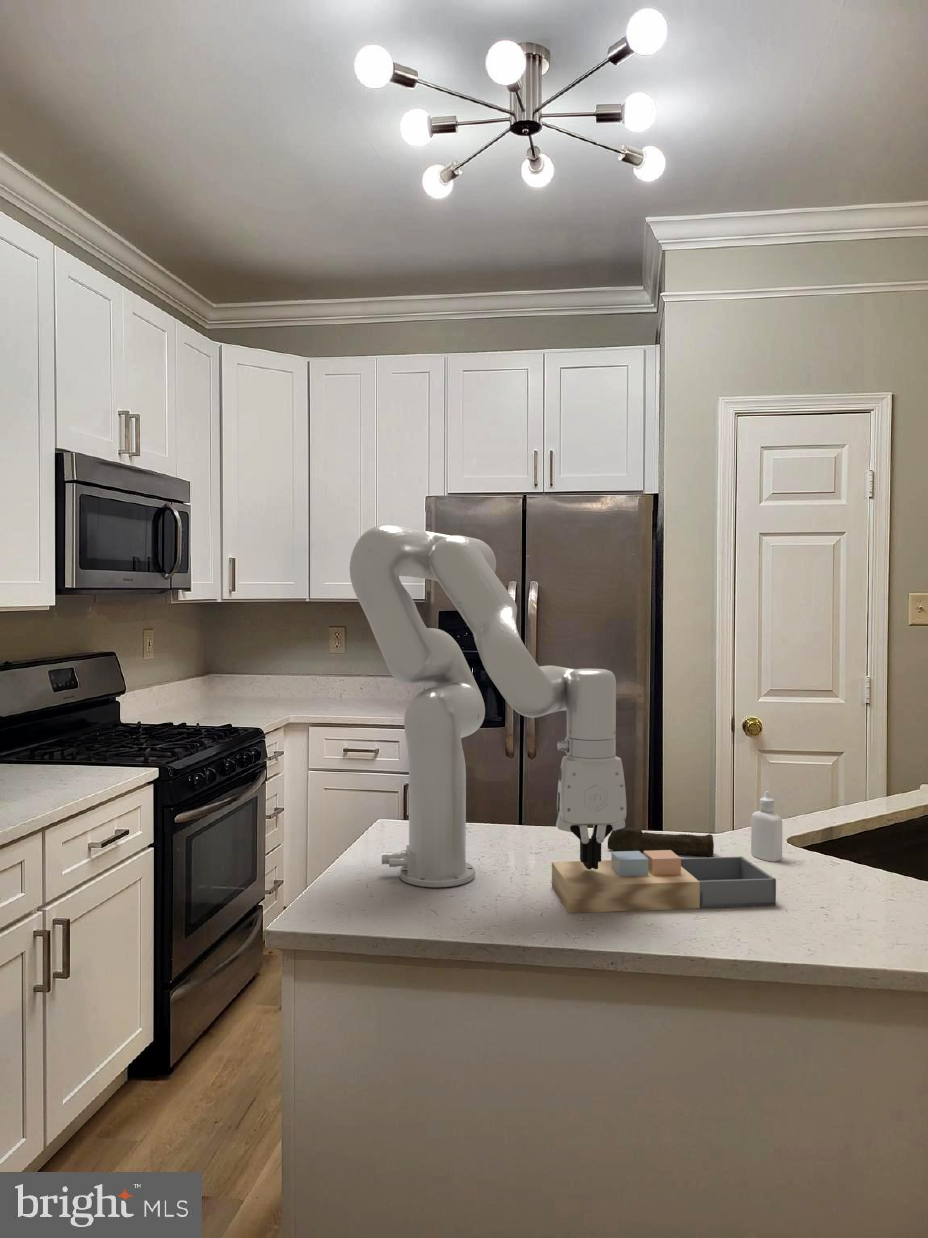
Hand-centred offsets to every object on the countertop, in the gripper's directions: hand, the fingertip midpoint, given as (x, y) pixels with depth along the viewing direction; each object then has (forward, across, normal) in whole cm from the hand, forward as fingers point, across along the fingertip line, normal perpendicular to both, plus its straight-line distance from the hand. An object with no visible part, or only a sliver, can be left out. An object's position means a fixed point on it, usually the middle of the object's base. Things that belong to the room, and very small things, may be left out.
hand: (590, 866), depth 134 cm
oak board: (+5, +5, 0) cm, 7 cm away
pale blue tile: (+1, +6, 0) cm, 6 cm away
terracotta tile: (+1, +11, 0) cm, 11 cm away
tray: (+5, +21, 0) cm, 22 cm away
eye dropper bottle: (+5, +37, +18) cm, 42 cm away
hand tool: (+5, +19, +22) cm, 30 cm away
